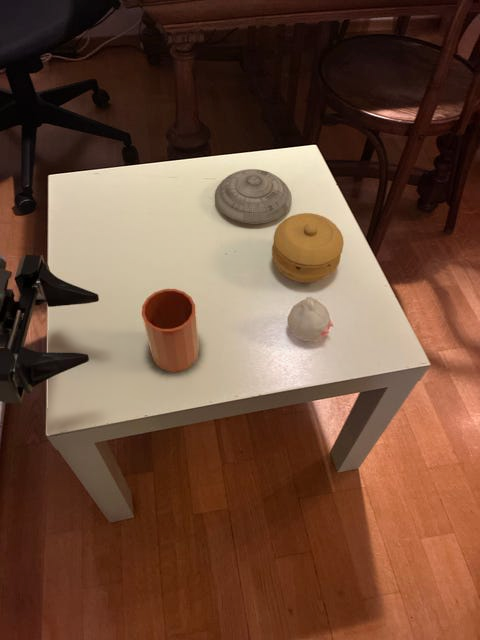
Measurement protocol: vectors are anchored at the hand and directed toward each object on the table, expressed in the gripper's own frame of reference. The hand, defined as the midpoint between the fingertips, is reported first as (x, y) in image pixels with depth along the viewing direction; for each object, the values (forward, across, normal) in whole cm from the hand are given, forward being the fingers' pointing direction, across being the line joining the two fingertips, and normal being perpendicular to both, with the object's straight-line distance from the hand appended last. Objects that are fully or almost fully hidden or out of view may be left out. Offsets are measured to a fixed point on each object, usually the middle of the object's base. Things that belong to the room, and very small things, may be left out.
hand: (93, 326), depth 60 cm
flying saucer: (+24, +39, +11) cm, 47 cm away
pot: (+32, +22, +11) cm, 40 cm away
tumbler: (+10, +5, +13) cm, 18 cm away
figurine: (+31, +8, +12) cm, 34 cm away
